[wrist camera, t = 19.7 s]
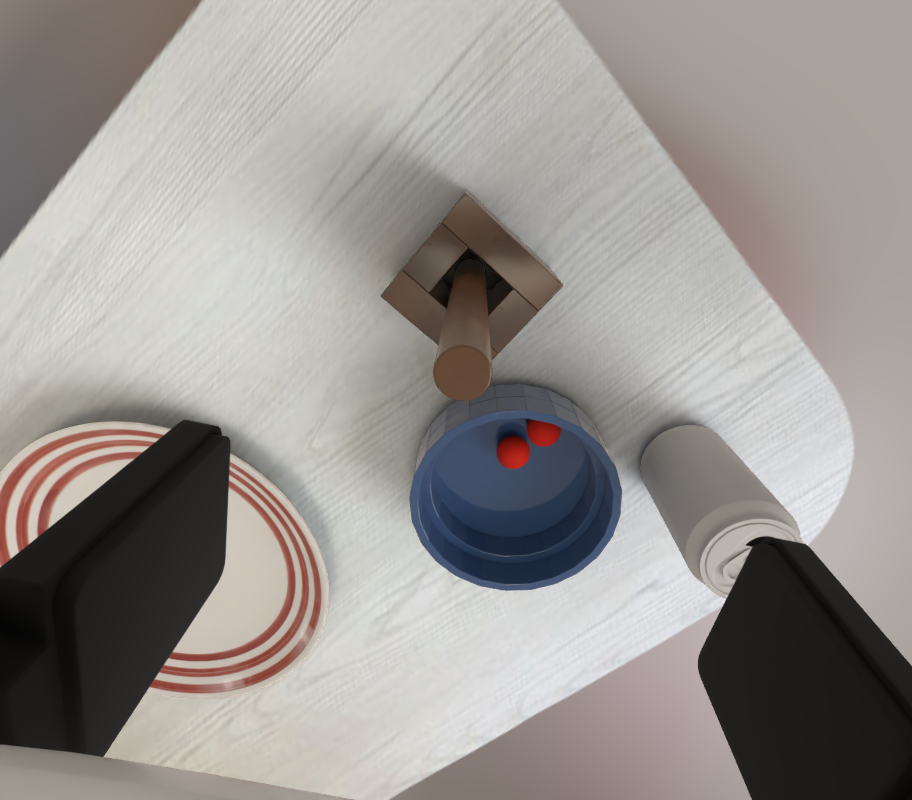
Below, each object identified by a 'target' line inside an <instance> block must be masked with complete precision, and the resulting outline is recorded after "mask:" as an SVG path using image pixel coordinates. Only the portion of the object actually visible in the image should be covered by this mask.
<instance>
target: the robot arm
mask: <svg viewBox="0 0 912 800" xmlns="http://www.w3.org/2000/svg"><path fill="white" fill-rule="evenodd" d="M230 447H231V445H230V439H229V438H228V437H226V436H222V433H221V429H220V428H219V427H218V426H214V425H209V424H204V423H199V422H194V421H189V420H183V421H181V422H179V423H178V424H177V425H176V426H175V427H173V428H172V429H171V430H170V431H168V432H167V433H166V434H165V435H163V436H162V437H161V438H160V439H158V440H157V441H156V442H155V443H153V444H152V445H151V446H150V447H149V448H147V449H146V450H145V451H144V452H142V453H141V454H140V455H139V456H137V457H136V458H135V459H134V460H132V461H131V462H130V463H129V464H128V465H126V466H125V467H124V468H123V469H121V470H120V471H119V472H118V473H116V474H115V475H114V476H113V477H111V478H110V479H109V480H108V481H106V482H105V483H104V484H103V485H102V486H100V487H99V488H98V489H97V490H95V491H94V492H93V493H92V494H90V495H89V496H88V497H87V498H85V499H84V500H83V501H82V502H80V503H79V504H78V505H77V506H76V507H74V508H73V509H72V510H71V511H69V512H68V513H67V514H66V515H64V516H63V517H62V518H61V519H59V520H58V521H57V522H56V523H55V524H53V525H52V526H51V527H50V528H48V529H47V530H46V531H45V532H43V533H42V534H41V535H40V536H38V537H37V538H36V539H35V540H33V541H32V542H31V543H30V544H29V545H27V546H26V547H25V548H24V549H22V550H21V551H20V552H19V553H17V554H16V555H15V556H14V557H12V558H11V559H10V560H9V561H7V562H6V563H5V564H4V565H3V566H1V567H0V800H353V799H347V798H341V797H336V796H330V795H325V794H319V793H313V792H308V791H302V790H296V789H291V788H285V787H280V786H274V785H268V784H263V783H257V782H252V781H246V780H240V779H235V778H229V777H223V776H218V775H212V774H206V773H200V772H193V771H187V770H181V769H175V768H168V767H162V766H156V765H149V764H143V763H137V762H131V761H124V760H118V759H112V758H105V757H103V756H104V755H105V754H106V752H107V751H108V749H109V748H110V746H111V745H112V743H113V741H114V740H115V738H116V737H117V735H118V734H119V732H120V731H121V729H122V728H123V726H124V725H125V723H126V722H127V720H128V719H129V717H130V716H131V714H132V713H133V711H134V710H135V708H136V707H137V705H138V704H139V702H140V701H141V699H142V697H143V696H144V694H145V693H146V691H147V690H148V688H149V687H150V685H151V684H152V682H153V681H154V679H155V678H156V676H157V675H158V673H159V672H160V670H161V669H162V667H163V666H164V664H165V663H166V661H167V660H168V658H169V657H170V655H171V653H172V652H173V650H174V649H175V647H176V646H177V644H178V643H179V641H180V640H181V638H182V637H183V635H184V634H185V632H186V631H187V629H188V628H189V626H190V625H191V623H192V622H193V620H194V619H195V617H196V616H197V614H198V612H199V611H200V609H201V608H202V606H203V605H204V603H205V602H206V600H207V599H208V597H209V596H210V594H211V593H212V591H213V590H214V588H215V587H216V585H217V584H218V582H219V580H220V578H221V576H222V573H223V570H224V566H225V559H226V537H227V515H228V492H229V470H230ZM698 670H699V674H700V677H701V680H702V682H703V684H704V687H705V689H706V691H707V694H708V696H709V698H710V701H711V703H712V706H713V708H714V710H715V713H716V715H717V718H718V720H719V722H720V725H721V727H722V729H723V732H724V734H725V737H726V739H727V741H728V744H729V746H730V748H731V751H732V753H733V755H734V758H735V760H736V762H737V765H738V767H739V770H740V772H741V774H742V777H743V779H744V782H745V784H746V786H747V789H748V791H749V793H750V796H751V798H752V800H912V666H911V665H910V664H909V662H908V661H907V660H906V659H905V658H904V657H903V655H901V653H900V652H899V651H898V650H897V649H896V647H895V646H894V645H893V644H892V643H891V641H890V640H889V639H888V638H887V637H886V636H885V635H884V633H883V632H882V631H881V630H880V629H879V628H878V626H877V625H876V624H875V623H874V622H873V621H872V619H871V618H870V617H869V616H868V615H867V614H866V612H864V610H863V609H862V608H861V607H860V606H859V604H858V603H857V602H856V601H855V600H854V598H853V597H852V596H851V595H850V594H849V593H848V591H847V590H846V589H845V588H844V587H843V586H842V585H841V583H840V582H839V581H838V580H837V579H836V578H835V576H834V575H833V574H832V573H831V572H830V571H829V570H828V568H827V567H826V566H825V565H824V564H823V562H822V561H821V560H820V559H819V558H818V557H817V555H816V554H815V553H814V552H813V551H812V550H811V548H810V547H808V546H807V545H806V544H803V543H798V542H793V541H789V540H784V539H779V538H774V537H770V538H767V539H765V540H764V541H763V542H762V543H758V544H755V545H754V546H753V547H752V549H751V550H750V552H749V554H748V556H747V558H746V561H745V563H744V565H743V567H742V569H741V571H740V573H739V575H738V577H737V579H736V581H735V583H734V585H733V587H732V589H731V591H730V593H729V595H728V597H727V599H726V601H725V603H724V605H723V607H722V609H721V611H720V613H719V615H718V617H717V619H716V621H715V623H714V625H713V627H712V629H711V632H710V633H709V636H708V637H707V639H706V641H705V644H704V645H703V648H702V650H701V652H700V654H699V659H698Z"/></svg>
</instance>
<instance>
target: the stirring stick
mask: <svg viewBox="0 0 912 800" xmlns="http://www.w3.org/2000/svg"><path fill="white" fill-rule="evenodd" d="M433 377H434V381H435V383H436V385H437V387H438V389H439V390H440V391H441V392H442V393H443V394H444V395H446V396H447V397H449V398H452V399H455V400H460V401H466V400H471V399H474V398H477V397H479V396H480V395H482V394H483V393H484V392H485V391H486V390H487V388H488V387H489V385H490V383H491V380H492V360H491V346H490V333H489V319H488V305H487V292H486V278H485V270H484V267H483V266H482V264H481V263H480V262H478V261H477V260H474V259H467V260H464V261H462V262H461V263H460V264H459V265H458V266H457V268H456V271H455V276H454V280H453V285H452V289H451V293H450V298H449V302H448V306H447V311H446V315H445V320H444V324H443V328H442V333H441V337H440V342H439V346H438V350H437V355H436V359H435V364H434V368H433Z"/></svg>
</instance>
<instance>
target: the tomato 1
mask: <svg viewBox="0 0 912 800" xmlns="http://www.w3.org/2000/svg"><path fill="white" fill-rule="evenodd" d="M496 452H497V458H498V460H499V462H500V463H501V464H502V465H503V466H505V467H506V468H509V469H518V468H520V467H522V466H524V465H525V464H526V463H527V461H528V459H529V457H530V448H529V445H528V443H527V442H526V441H525V440H524V439H523V438H521V437H519V436H507V437H505V438H504V439H502V440H501V441H500V443H499V444H498V446H497V451H496Z"/></svg>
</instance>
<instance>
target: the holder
mask: <svg viewBox="0 0 912 800" xmlns="http://www.w3.org/2000/svg"><path fill="white" fill-rule="evenodd" d="M468 247H469V248H470V249H471V250H472V251H473V252H474V253H475V254H477V255H478V256H479V257H480V258H481V259H482V260H483V261H484V262H485V263H486V264H487V265H489V266H490V267H491V268H492V269H493V270H494V271H495V272H496V273H497V274H498V275H500V276H501V277H502V279H501V280H500V281H499V282H498V283H497V284H496V285H495V286H494V287H493V289H492V290H491V291H490V292H489V293H488V294H487V305H488V319H489V333H490V346H491V360H493V359H494V358H495V357H496V356H497V355H498V353H499V352H500V351H501V350H502V349H503V348H504V347H505V346H506V345H507V344H508V343H509V342H510V341H511V340H512V339H513V338H514V337H515V336H516V335H517V334H518V333H519V332H520V330H521V329H522V328H523V327H524V326H525V325H526V324H527V323H528V322H529V321H530V320H531V319H532V318H533V317H534V316H535V315H536V314H537V313H538V311H539V310H540V309H541V308H542V307H543V306H544V305H545V304H546V303H547V302H548V301H549V300H550V299H551V298H552V297H553V296H554V295H555V294H556V293H557V292H558V291H559V290H560V289H561V288H562V286H563V284H562V283H561V281H560V280H559V279H558V277H557V276H556V275H555V273H554V272H553V271H552V270H551V268H550V267H549V266H548V265H547V264H546V263H545V262H543V261H542V260H541V259H540V258H539V257H538V256H537V255H536V254H535V253H534V252H533V251H532V250H531V249H530V248H529V247H528V246H526V245H525V244H524V243H523V242H522V241H521V240H520V239H519V238H518V237H517V236H516V235H515V234H514V233H513V232H512V231H511V230H510V229H508V228H507V227H506V226H505V225H504V224H503V223H502V222H501V221H500V220H499V219H498V218H497V217H496V216H495V215H494V214H493V213H491V212H490V211H489V210H488V209H487V208H486V207H485V206H484V205H483V204H482V203H481V202H480V201H479V200H478V199H477V198H476V197H475V196H473V195H472V194H471V193H470V192H469V191H468V190H467V191H466V192H465V194H464V195H463V196H462V197H461V198H460V200H459V201H458V202H457V203H456V204H455V206H454V207H453V208H452V209H451V211H450V212H449V213H448V214H447V216H446V217H445V218H444V219H443V220H442V221H441V223H440V224H439V225H438V226H437V227H436V229H435V230H434V231H433V232H432V234H431V235H430V236H429V237H428V238H427V240H426V241H425V242H424V243H423V244H422V246H421V247H420V248H419V249H418V250H417V252H416V253H415V254H414V255H413V256H412V258H411V259H410V260H409V261H408V263H407V264H406V265H405V266H404V267H403V269H402V270H401V271H400V272H399V273H398V275H397V276H396V277H395V278H394V280H393V281H392V282H391V283H390V285H389V286H388V287H387V288H386V290H385V291H384V292H383V293H382V295H381V297H382V298H383V299H384V300H386V301H387V302H388V303H389V304H390V305H391V306H393V307H394V308H395V309H396V310H397V311H399V312H400V313H401V314H402V315H403V316H404V317H406V318H407V319H408V320H409V321H410V322H412V323H413V324H414V325H415V326H416V327H417V328H419V329H420V330H421V331H422V332H423V333H425V334H426V335H427V336H428V337H429V338H430V339H432V340H433V341H434V342H435V343H436V344H438V345H439V342H440V337H441V333H442V328H443V324H444V320H445V315H446V311H447V306H448V302H449V298H450V293H451V288H450V287H449V286H447V285H446V284H445V283H444V282H443V281H442V280H441V279H442V278H443V277H444V275H445V274H446V273H447V272H448V271H449V270H450V268H451V267H452V266H453V265H454V264H455V263H456V261H457V260H458V259H459V258H460V257H461V256H462V255H463V253H464V252H465V251H466V250H467V249H468Z"/></svg>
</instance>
